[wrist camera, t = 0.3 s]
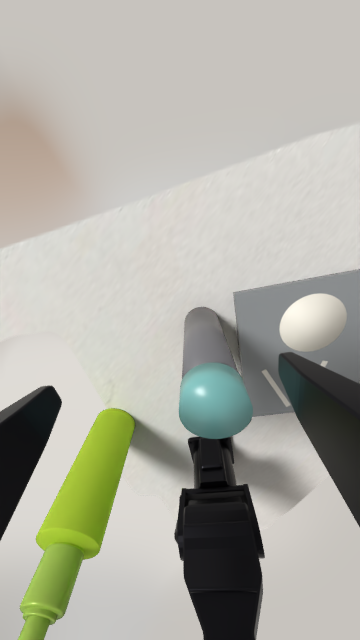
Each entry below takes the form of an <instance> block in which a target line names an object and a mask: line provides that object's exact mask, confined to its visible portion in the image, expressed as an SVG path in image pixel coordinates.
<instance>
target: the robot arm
mask: <svg viewBox="0 0 360 640" xmlns="http://www.w3.org/2000/svg"><path fill="white" fill-rule="evenodd" d="M278 373H279V377H280V379H281V382H282V384H283V386H284V388H285V391H286V393H287V395H288V398H289V400H290V402H291V404H292V407H293V409H294V411H295V413H296V416H297V418H298V420H299V421H300V423H301V425H302V427H303V429H304V430H305V432H306V434H307V436H308V437H309V439H310V441H311V443H312V444H313V446H314V448H315V450H316V451H317V453H318V455H319V457H320V458H321V460H322V462H323V464H324V465H325V467H326V469H327V471H328V472H329V474H330V476H331V478H332V479H333V481H334V483H335V485H336V486H337V488H338V490H339V491H340V493H341V495H342V497H343V499H344V500H345V502H346V504H347V506H348V507H349V509H350V511H351V513H352V514H353V516H354V518H355V520H356V521H357V523H358V525H359V527H360V384H359V383H357V382H355V381H353V380H351V379H349V378H347V377H344V376H342V375H340V374H338V373H336V372H334V371H332V370H330V369H327V368H325V367H323V366H321V365H319V364H317V363H315V362H313V361H310V360H308V359H306V358H304V357H302V356H300V355H298V354H296V353H293V352H284V353H280V354H279V357H278ZM61 404H62V401H61V399H60V397H59V395H58V393H57V392H56V390H55V388H54V387H53V386H43V387H40V388H38V389H36V390H35V391H33V392H32V393H30V394H28V395H27V396H25V397H23V398H22V399H20V400H18V401H17V402H15V403H14V404H12V405H10V406H9V407H7V408H5V409H4V410H2V411H1V412H0V540H1V538H2V536H3V534H4V532H5V530H6V528H7V526H8V523H9V522H10V519H11V517H12V515H13V513H14V511H15V509H16V507H17V505H18V503H19V501H20V499H21V497H22V494H23V492H24V490H25V488H26V486H27V484H28V482H29V480H30V478H31V476H32V473H33V471H34V469H35V467H36V465H37V463H38V461H39V459H40V457H41V455H42V453H43V450H44V448H45V446H46V444H47V441H48V439H49V437H50V434H51V431H52V428H53V426H54V423H55V421H56V418H57V415H58V413H59V410H60V408H61ZM188 445H189V448H190V452H191V456H192V459H193V463H194V489H186V488H182V493H181V496H180V503H179V513H178V520H177V524H176V529H175V540H176V542H177V543H178V547H179V554H180V558H181V560H182V561H184V579H185V582H186V585H187V588H188V591H189V594H190V596H191V599H192V602H193V605H194V608H195V610H196V613H197V616H198V619H199V622H200V625H201V627H202V630H203V635H204V640H256V635H257V629H258V622H259V616H260V609H261V602H262V595H263V584H262V572H261V567H260V562H259V558H265V556H264V549H263V544H262V539H261V535H260V530H259V526H258V522H257V518H256V514H255V510H254V506H253V503H252V499H251V495H250V492H249V488H248V484H243V485H238V486H237V485H236V480H235V475H234V470H233V465H232V464H234V458H233V451H232V445H231V438H230V437H227V438H222V439H209V438H203V437H197V438H189V439H188Z"/></svg>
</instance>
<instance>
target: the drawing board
mask: <svg viewBox="0 0 360 640" xmlns="http://www.w3.org/2000/svg"><path fill="white" fill-rule="evenodd" d="M233 294H234V304H235V313H236V323H237V332H238V342H239V351H240V361H241V370H242V380H243V382H244V385H245V388H246V390H247V393H248V396H249V398H250V401H251V404H252V407H253V415H252V417H255V416H264V415H273V414H281V413H290V412H295V411H294V409H293V407H292V404H291V402H290V400H289V398H288V395H287V393H286V391H285V388H284V386H283V384H282V382H281V379H280V377H279V373H278V357H279V354H280V353H284V352H293V353H296V354H298V355H300V356H302V357H304V358H306V359H308V360H310V361H313V362H315V363H317V364H319V365H321V366H323V367H325V368H327V369H330V370H332V371H334V372H336V373H338V374H340V375H342V376H344V377H347V378H349V379H351V380H353V381H355V382H357V383H359V382H360V269H358V270H353V271H347V272H342V273H336V274H331V275H326V276H320V277H315V278H309V279H304V280H298V281H293V282H288V283H282V284H277V285H271V286H266V287H260V288H255V289H250V290H244V291H239V292H233Z"/></svg>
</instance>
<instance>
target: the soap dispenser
mask: <svg viewBox="0 0 360 640" xmlns="http://www.w3.org/2000/svg"><path fill="white" fill-rule="evenodd" d="M134 428H135V422H134V419H133V418H132V417H131V416H130V415H129V414H128V413H127V412H125V411H123V410H120V409H106V410H103V411H102V412H100V413H99V415H98V416H97V418H96V420H95V422H94V424H93V426H92V428H91V430H90V432H89V434H88V436H87V438H86V440H85V442H84V444H83V446H82V448H81V450H80V452H79V454H78V455H77V458H76V460H75V461H74V463H73V465H72V467H71V469H70V471H69V473H68V475H67V477H66V479H65V481H64V483H63V485H62V487H61V489H60V491H59V493H58V495H57V497H56V499H55V501H54V503H53V505H52V507H51V509H50V510H49V513H48V514H47V516H46V518H45V520H44V523H43V524H42V526H41V528H40V530H39V532H38V534H37V536H36V542H37V544H38V545H39V546H40V547H41V548H42V549H43V550H44V551H45V552H44V554H43V557H42V559H41V561H40V563H39V565H38V567H37V570H36V572H35V574H34V576H33V578H32V581H31V583H30V585H29V587H28V589H27V592H26V594H25V596H24V598H23V601H22V603H21V605H20V610H21V612H22V613H24V614H23V619H24V620H26V622H25V624H24V626H23V629H22V631H21V634H20V636H19V638H18V640H44V637H45V635H46V632H47V629H48V627H49V625H52V624H54V623H55V622H56V620H58V619H60V618H62V617H63V616H64V614H65V611H66V609H67V605H68V603H69V599H70V596H71V593H72V590H73V587H74V584H75V581H76V578H77V575H78V572H79V569H80V566H81V563H82V560H84V559H89V558H92V557H94V556H96V555H97V554H98V553H99V551H100V548H101V544H102V541H103V537H104V534H105V530H106V527H107V523H108V519H109V516H110V513H111V509H112V505H113V502H114V498H115V495H116V491H117V488H118V484H119V481H120V477H121V474H122V470H123V467H124V463H125V460H126V456H127V453H128V449H129V446H130V442H131V438H132V435H133V431H134Z"/></svg>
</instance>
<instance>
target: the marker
mask: <svg viewBox="0 0 360 640" xmlns="http://www.w3.org/2000/svg"><path fill="white" fill-rule="evenodd" d="M252 415H253V407H252V404H251V401H250V398H249V396H248V393H247V390H246V388H245V385H244V382H243V380H242V378H241V376H240V374H239V373H238V371H237V368H236V365H235V363H234V360H233V357H232V354H231V352H230V349H229V346H228V344H227V341H226V338H225V335H224V333H223V330H222V327H221V325H220V322H219V319H218V316H217V315H216V313H215V312H214V311H213V310H211V309H209V308H206V307H198V308H195V309H193V310H191V311H190V312H189V313H188V314H187V316H186V318H185V327H184V349H183V371H182V381H181V385H180V402H179V417H180V420H181V422H182V424H183V425H184V427H185V428H186V429H187V430H189V431H190V432H191V433H193V434H195V435H197V436H200V437H203V438H209V439H222V438H227V437H230V436H233V435H235V434H237V433H239V432H241V431H242V430H243V429H244V428H245V427H246V426H247V425H248V424H249V423H250V421H251V418H252Z"/></svg>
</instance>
